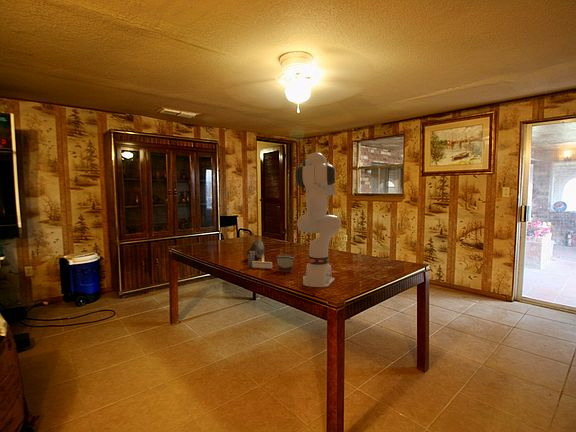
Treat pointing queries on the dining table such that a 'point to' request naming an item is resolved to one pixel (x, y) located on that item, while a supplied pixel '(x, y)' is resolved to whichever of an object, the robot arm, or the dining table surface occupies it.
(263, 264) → the gate leaf
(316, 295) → the dining table surface
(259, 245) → the stone
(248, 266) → the hinge post
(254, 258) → the latch stile
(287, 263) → the food container
